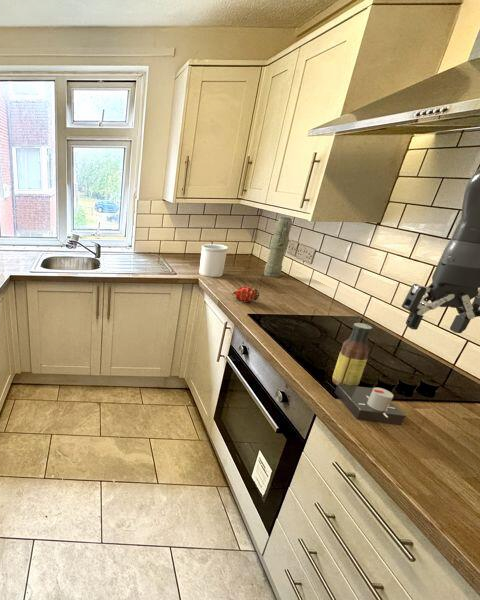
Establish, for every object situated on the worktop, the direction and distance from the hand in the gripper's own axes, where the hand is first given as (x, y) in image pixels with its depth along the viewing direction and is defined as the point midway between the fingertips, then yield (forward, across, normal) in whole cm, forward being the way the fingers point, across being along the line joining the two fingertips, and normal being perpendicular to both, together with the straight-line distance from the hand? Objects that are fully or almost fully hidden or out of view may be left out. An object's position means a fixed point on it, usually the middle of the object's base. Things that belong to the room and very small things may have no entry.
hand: (432, 329), depth 73 cm
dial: (+23, +4, 0) cm, 23 cm away
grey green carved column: (+26, -12, -127) cm, 130 cm away
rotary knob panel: (+26, +4, -3) cm, 27 cm away
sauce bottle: (+26, +4, -13) cm, 30 cm away
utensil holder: (+26, +25, -122) cm, 127 cm away
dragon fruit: (+26, +16, -78) cm, 84 cm away
